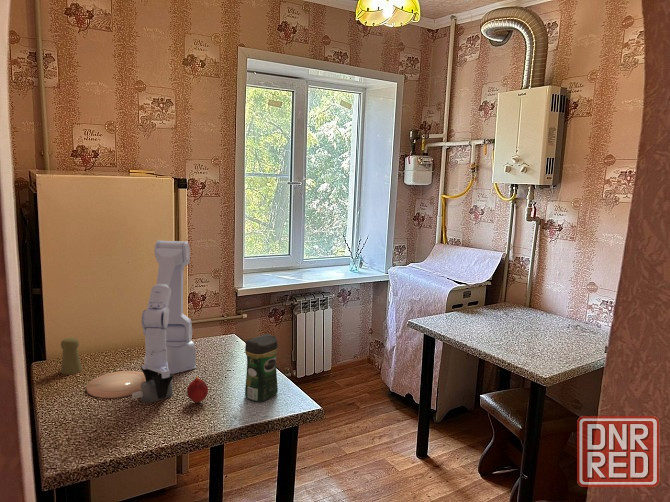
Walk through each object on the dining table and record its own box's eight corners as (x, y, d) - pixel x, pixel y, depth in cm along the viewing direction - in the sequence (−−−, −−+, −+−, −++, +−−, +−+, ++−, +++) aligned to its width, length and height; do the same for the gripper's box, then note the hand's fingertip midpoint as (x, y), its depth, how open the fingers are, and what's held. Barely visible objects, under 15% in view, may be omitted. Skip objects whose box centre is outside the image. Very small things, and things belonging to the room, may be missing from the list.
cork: (72, 375, 154) (70, 342, 152) (56, 373, 155) (54, 340, 153) (85, 368, 159) (84, 336, 158) (70, 366, 161) (68, 334, 159)
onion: (212, 400, 140) (211, 374, 139) (200, 409, 135) (200, 382, 134) (195, 396, 142) (194, 371, 141) (183, 405, 137) (182, 378, 136)
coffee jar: (263, 386, 151) (264, 329, 148) (281, 394, 146) (282, 335, 143) (239, 397, 143) (240, 337, 140) (258, 405, 138) (259, 344, 135)
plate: (139, 368, 161) (138, 366, 161) (159, 387, 147) (159, 384, 147) (79, 382, 149) (79, 379, 149) (96, 404, 136) (96, 401, 135)
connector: (169, 391, 145) (169, 375, 145) (174, 396, 142) (174, 380, 142) (131, 401, 138) (130, 385, 137) (135, 406, 135) (135, 390, 134)
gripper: (133, 344, 141) (134, 387, 143) (151, 359, 131) (152, 406, 133) (157, 339, 146) (158, 381, 148) (176, 354, 135) (177, 399, 137)
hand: (157, 393), depth 141 cm, fingers open, 7 cm apart
